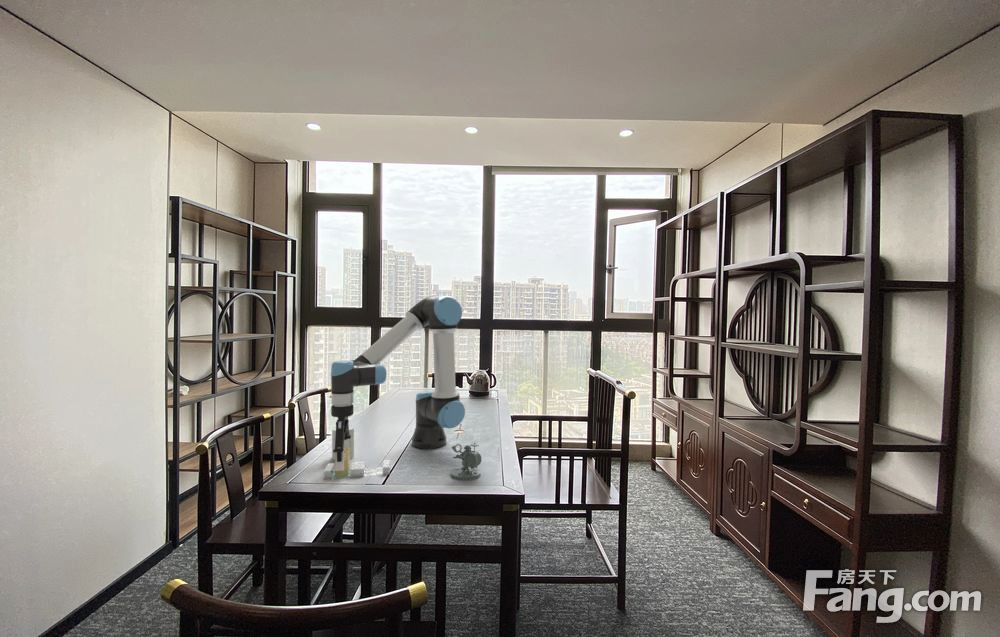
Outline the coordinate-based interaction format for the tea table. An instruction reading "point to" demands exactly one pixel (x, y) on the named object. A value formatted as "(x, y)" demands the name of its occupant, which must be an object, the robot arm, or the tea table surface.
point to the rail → (358, 470)
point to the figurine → (467, 463)
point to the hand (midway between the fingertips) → (342, 463)
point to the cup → (351, 441)
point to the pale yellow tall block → (345, 463)
